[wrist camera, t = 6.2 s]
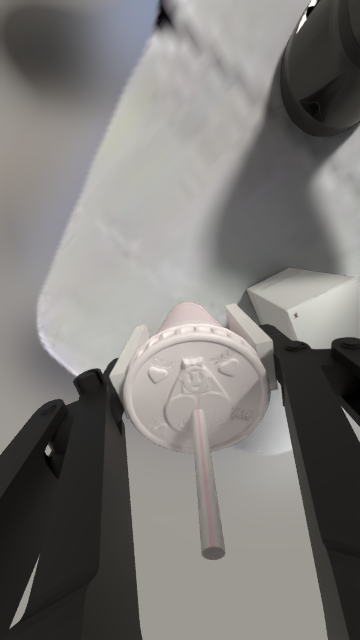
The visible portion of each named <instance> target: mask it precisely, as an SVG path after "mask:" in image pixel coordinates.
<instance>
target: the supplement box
mask: <svg viewBox="0 0 360 640" xmlns="http://www.w3.org/2000/svg"><path fill="white" fill-rule="evenodd" d="M247 292H248V294H249V297H250V299H251V302H252V304H253V306H254V309H255V311H256V314H257V316H258V318H259V321H260V323H261V325H264V324H269V325H272V326H275V327H276V328H277V329H278V330H280V331H281V332H282V333H283V334H284V335H286V336H287V337H288V338H289V339H291V340H292V341H302V342H305V343H307V344H308V345H309V346H310V347H311V349H331V343H332V341H333V340H335V339H338V338H344V337H355V338H359V339H360V284H359V280H358V277H350V276H343V275H336V274H330V273H323V272H316V271H309V270H303V269H296V268H288V269H286V270H284V271H282V272H280V273H278V274H275V275H273V276H271V277H269V278H267V279H265V280H263V281H261V282H259V283H257V284H255V285H253V286H251V287H249V288H247Z"/></svg>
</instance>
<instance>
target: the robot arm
mask: <svg viewBox="0 0 360 640" xmlns="http://www.w3.org/2000/svg"><path fill="white" fill-rule="evenodd" d="M281 91H282V97H283V101H284V105H285V107H286V110H287V112H288V114H289V116H290V117H291V119H292V120H293V122H294V123H295V124H296V125H297V126H298V127H299V128H301V129H302V130H303V131H305V132H307V133H309V134H312V135H316V136H330V135H335V134H338V133H340V132H343V131H345V130H347V129H348V128H350V127H351V126H353V125H354V124H356V123H357V122H359V121H360V0H311V2H310V3H309V5H308V6H307V7H306V9H305V11H304V12H303V14H302V16H301V18H300V20H299V21H298V23H297V25H296V27H295V29H294V31H293V33H292V35H291V37H290V39H289V42H288V44H287V47H286V50H285V54H284V58H283V62H282V69H281ZM225 308H226V313H227V319H228V324H229V330H230V331H232V332H234V333H235V334H237V335H239V336H241V337H242V338H244V339H245V340H246V341H247V342H248V343H249V345H250V346H251V347H252V348H253V349H254V350H255V351H256V353H257V355H258V357H259V359H260V361H261V362H262V364H263V366H264V368H265V369H266V372H267V374H268V378H269V381H270V391H271V390H276V389H278V386H277V380H278V382H279V383H280V385H281V389H282V399H283V406H284V407H285V412H286V417H287V422H288V427H289V433H290V438H291V443H292V448H293V453H294V458H295V464H296V468H297V474H298V479H299V484H300V490H301V495H302V500H303V505H304V510H305V515H306V521H307V526H308V531H309V536H310V541H311V547H312V551H313V557H314V562H315V567H316V572H317V577H318V583H319V588H320V593H321V598H322V603H323V609H324V615H325V621H326V629H327V636H328V640H360V442H359V440H358V439H357V436H356V434H355V433H354V431H353V429H352V427H351V425H350V423H349V421H348V419H347V417H346V415H345V413H344V411H343V409H344V410H345V411H346V412H347V413H348V414H349V415H350V416H351V417H352V419H353V420H354V421H355V422H356V423H357V424H358V425H359V426H360V339H359V338H355V337H344V338H338V339H335V340H333V341H332V343H331V349H311V347H310V346H309V345H308V344H307V343H305V342H302V341H292V340H291V339H289V338H288V337H287V336H286V335H284V334H283V333H282V332H281V331H280V330H278V329H277V328H276V327H275V326H272V325H269V324H264V325H260V326H258V325H257V324H256V323H255V322H254V321H253V320H251V319H250V318H249V317H248V316H247V315H246V314H245V313H244V312H243V311H242V310H241V309H240V308H239V307H238V306H237V305H236V304H235V303H234V304H230V305H226V306H225ZM149 339H150V336H149V333H148V330H147V327H146V324H145V325H141V326H137V327H136V328H135V330H134V332H133V334H132V336H131V337H130V339H129V341H128V343H127V345H126V346H125V348H124V350H123V352H122V354H121V355H120V357H119V358H116V359H114V360H113V361H112V362H110V363H109V365H108V366H107V368H106V370H105V371H104V373H103V374H102V372H101V370H100V369H98V368H96V369H91V370H88V371H85V372H83V373H82V374H80V375H79V376H77V377H76V378H75V379H74V381H73V383H74V385H75V387H76V389H77V391H78V393H79V395H80V397H79V400H78V401H76V402H73V403H71V404H68V405H65V404H64V402H63V400H61V399H57V400H53V401H49V402H47V403H46V404H44V405H43V406H42V407H40V408H39V409H38V410H37V411H36V412H35V413H34V414H33V415H32V416H31V418H30V419H29V420H28V422H27V423H26V424H25V425H24V426H23V428H22V429H21V430H20V431H19V433H18V434H17V435H16V436H15V438H14V439H13V440H12V441H11V443H10V444H9V445H8V446H7V448H6V449H5V450H4V451H3V452H2V454H1V455H0V640H142V635H141V629H140V620H139V608H138V596H137V583H136V570H135V556H134V543H133V531H132V517H131V504H130V492H129V478H128V465H127V452H126V439H125V426H124V423H123V420H122V415H123V412H125V415H126V417H127V419H129V417H128V415H127V412H126V409H125V406H124V400H123V389H124V383H125V379H126V376H127V374H128V369H129V365H130V363H131V361H132V359H133V358H134V356H135V354H136V352H137V351H138V349H139V348H140V347H141V346H142V345H143V344H145V343H146V342H147V341H148V340H149ZM341 406H342V407H343V409H342V407H341ZM47 445H49V447H50V448H51V450H52V451H51V453H50V455H49V456H47V455H46V453H45V452H44V451H45V449H46V447H47ZM39 555H40V556H39ZM38 557H39V560H38ZM37 560H38V565H37V568H36V572H35V576H34V580H33V584H32V588H31V592H30V596H29V600H28V604H27V607H26V610H25V613H24V614H23V616H22V618H21V620H20V621H19V622H18V623H17V624H15V625H14V626H13V627H12V628H11V629H9V628H10V625H11V623H12V621H13V618H14V616H15V613H16V611H17V608H18V606H19V603H20V601H21V599H22V596H23V594H24V591H25V589H26V586H27V584H28V582H29V579H30V577H31V574H32V572H33V569H34V567H35V564H36V562H37Z"/></svg>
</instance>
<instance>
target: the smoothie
mask: <svg viewBox="0 0 360 640" xmlns="http://www.w3.org/2000/svg"><path fill="white" fill-rule="evenodd" d="M123 400H124V406H125V409H126V412H127V415H128V417H129V419H130V420H131V422H132V423H133V425H134V426H135V427H136V429H137V430H138V431H139V432H140V433H142V435H144V436H145V437H146V438H147V439H149V440H150V441H152V442H154V443H155V444H157V445H159V446H162V447H164V448H167V449H170V450H173V451H177V452H184V453H194V454H195V468H196V480H197V481H196V482H197V495H198V510H199V524H200V538H201V552H202V556H203V557H204V558H206V559H209V560H217V559H220V558H222V557H224V555H225V547H224V539H223V533H222V526H221V520H220V513H219V506H218V499H217V493H216V486H215V480H214V473H213V466H212V460H211V453H210V452H213V451H217V450H220V449H223V448H227V447H229V446H231V445H233V444H235V443H237V442H239V441H240V440H242V439H243V438H245V437H246V436H247V435H249V434H250V433H251V432H252V431H253V430H254V429H255V428H256V427H257V426H258V424H259V423H260V422H261V420H262V418H263V417H264V415H265V413H266V411H267V408H268V405H269V401H270V381H269V378H268V374H267V372H266V369H265V368H264V366H263V364H262V362H261V361H260V359H259V357H258V355H257V353H256V351H255V350H254V349H253V348H252V347H251V346H250V345H249V343H248V342H247V341H246V340H245V339H244V338H242V337H241V336H239V335H237V334H235V333H234V332H232V331H230V330H229V329H227V328H223V327H222V326H221V325H220V324H219V323H218V322H217V321H216V320H215V319H214V318H213V317H212V316H211V315H210V314H209V313H208V312H207V311H206V310H205V309H204V308H202V307H201V306H200V305H198V304H195V303H191V302H186V303H181V304H179V305H177V306H175V307H174V308H173V309H172V310H171V312H170V313H169V315H168V316H167V318H166V319H165V321H164V322H163V324H162V326H161V327H160V329H159V330H158V332H157V333H156V335H154V336H152V337H151V338H150V339H149V340H148V341H147V342H146V343H145V344H143V345H142V346H141V347H140V348H139V349H138V351H137V352H136V354H135V356H134V358H133V359H132V361H131V363H130V365H129V369H128V374H127V376H126V379H125V383H124V389H123Z"/></svg>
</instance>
